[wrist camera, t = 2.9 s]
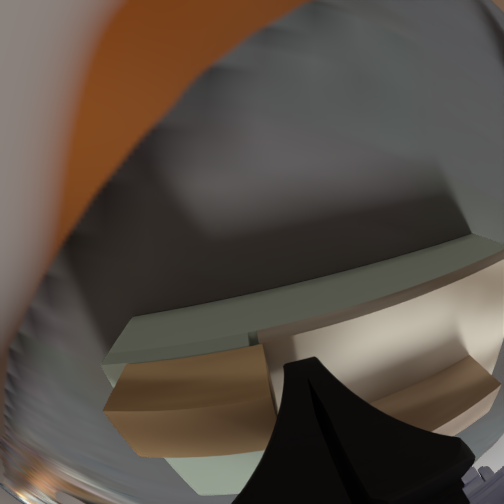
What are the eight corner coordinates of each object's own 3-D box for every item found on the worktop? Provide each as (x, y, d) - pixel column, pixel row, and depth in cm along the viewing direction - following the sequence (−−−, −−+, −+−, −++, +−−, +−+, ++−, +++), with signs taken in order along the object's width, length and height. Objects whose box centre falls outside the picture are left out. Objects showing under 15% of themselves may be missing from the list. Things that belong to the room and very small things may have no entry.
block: (275, 395, 11) (284, 446, 8) (152, 410, 11) (139, 456, 8) (262, 343, 10) (270, 397, 7) (125, 364, 10) (102, 411, 7)
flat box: (452, 375, 19) (479, 405, 14) (202, 449, 19) (199, 495, 14) (472, 233, 15) (520, 250, 10) (132, 316, 15) (100, 365, 10)
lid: (472, 399, 15) (497, 429, 11) (295, 475, 15) (304, 522, 11) (508, 246, 11) (558, 267, 7) (256, 330, 11) (267, 406, 7)
